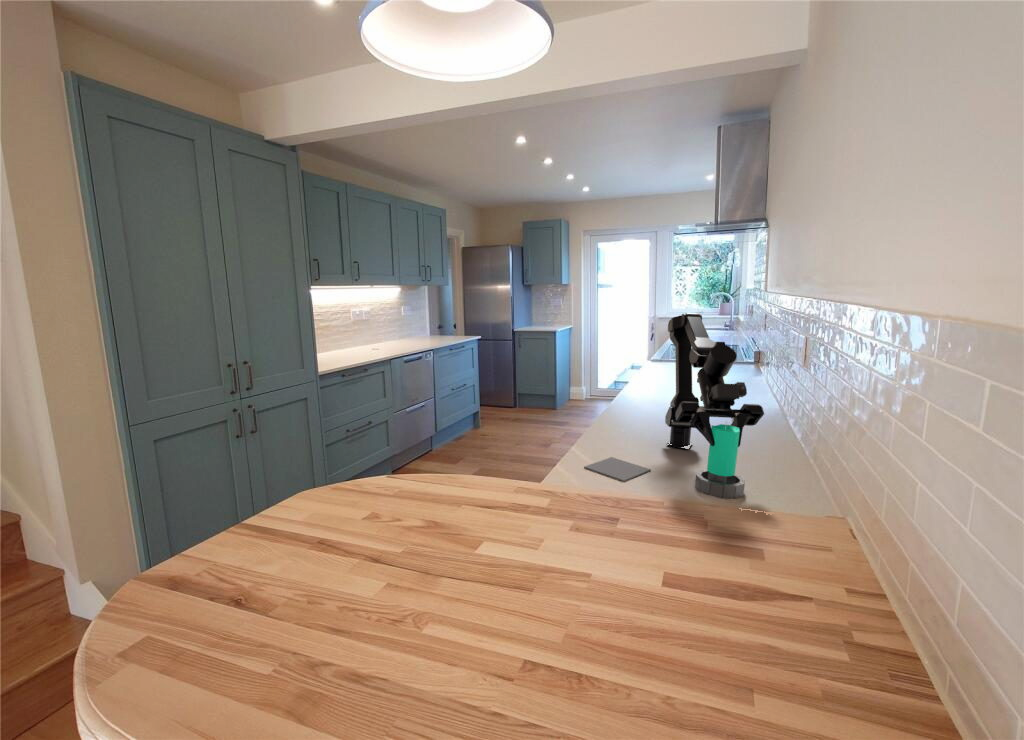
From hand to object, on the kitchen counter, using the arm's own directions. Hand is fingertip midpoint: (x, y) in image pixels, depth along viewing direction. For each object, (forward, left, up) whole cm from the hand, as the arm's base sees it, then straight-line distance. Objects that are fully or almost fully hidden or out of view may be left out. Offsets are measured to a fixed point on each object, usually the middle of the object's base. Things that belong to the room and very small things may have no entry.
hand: (725, 445), depth 109 cm
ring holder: (-1, -1, -11) cm, 11 cm away
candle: (-1, -1, -7) cm, 7 cm away
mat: (0, -25, -11) cm, 27 cm away
